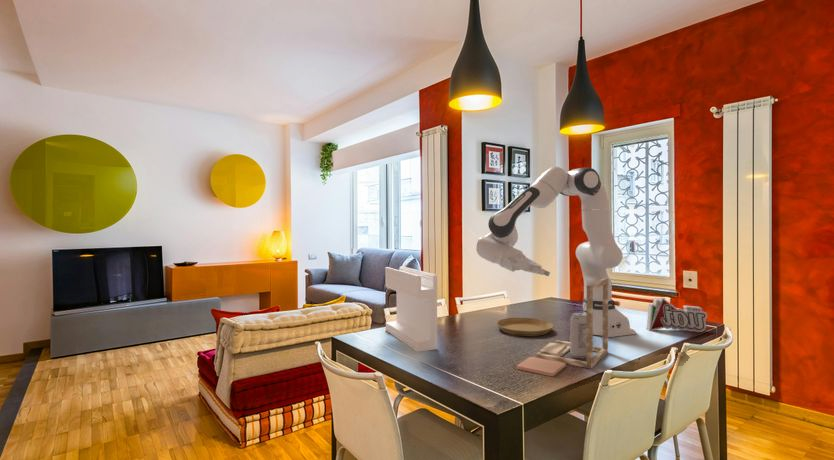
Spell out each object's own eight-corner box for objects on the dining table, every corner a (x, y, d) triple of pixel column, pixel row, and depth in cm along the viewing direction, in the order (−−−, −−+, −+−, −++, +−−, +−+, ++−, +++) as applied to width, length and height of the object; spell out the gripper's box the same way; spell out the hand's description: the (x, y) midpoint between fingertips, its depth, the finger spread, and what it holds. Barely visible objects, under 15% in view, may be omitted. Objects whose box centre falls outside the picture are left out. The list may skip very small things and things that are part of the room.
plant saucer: (536, 341, 175) (536, 333, 175) (486, 331, 192) (486, 323, 192) (562, 330, 193) (562, 323, 193) (514, 322, 209) (514, 315, 209)
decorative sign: (701, 335, 191) (705, 301, 191) (704, 337, 189) (708, 302, 188) (646, 329, 193) (649, 295, 193) (648, 330, 191) (652, 296, 190)
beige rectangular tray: (570, 348, 164) (570, 344, 164) (557, 358, 152) (557, 354, 152) (551, 345, 168) (551, 341, 168) (536, 355, 156) (537, 350, 156)
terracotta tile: (565, 366, 144) (565, 363, 144) (552, 376, 135) (552, 373, 135) (530, 359, 151) (530, 356, 151) (516, 368, 142) (516, 365, 142)
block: (437, 349, 164) (437, 274, 164) (417, 351, 161) (417, 275, 161) (402, 328, 196) (402, 266, 196) (385, 330, 193) (385, 267, 193)
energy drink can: (580, 353, 159) (580, 312, 158) (592, 358, 153) (592, 315, 153) (566, 354, 157) (566, 313, 156) (577, 359, 151) (577, 316, 151)
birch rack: (607, 352, 160) (608, 278, 159) (591, 368, 142) (591, 285, 141) (556, 343, 171) (557, 274, 170) (535, 358, 153) (535, 281, 153)
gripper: (508, 249, 163) (543, 264, 156) (523, 254, 181) (555, 267, 174) (502, 265, 164) (536, 280, 157) (517, 268, 181) (548, 282, 174)
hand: (546, 273), depth 166 cm, fingers open, 8 cm apart
